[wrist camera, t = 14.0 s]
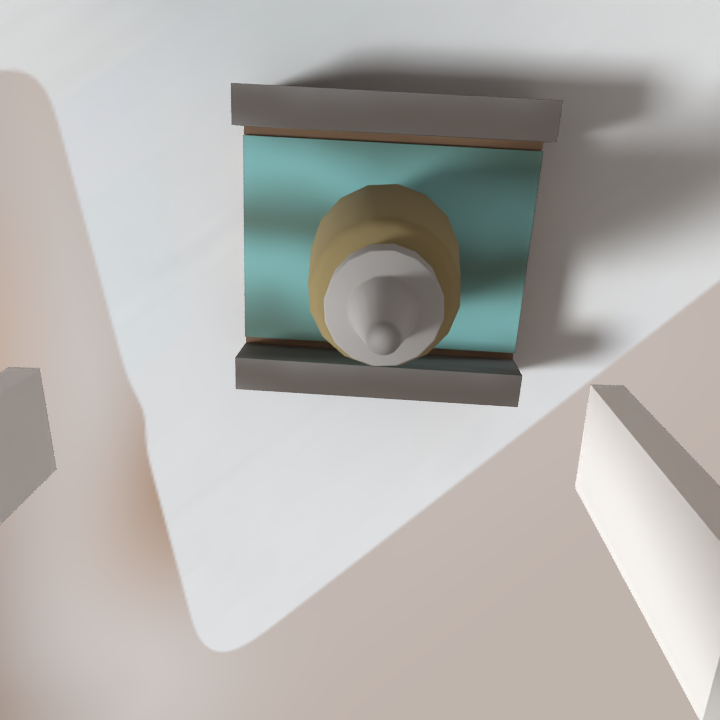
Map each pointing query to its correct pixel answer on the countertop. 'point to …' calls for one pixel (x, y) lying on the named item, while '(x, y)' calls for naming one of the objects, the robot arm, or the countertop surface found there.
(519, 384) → the dock
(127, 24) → the countertop surface
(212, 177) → the countertop surface
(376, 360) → the squeeze bottle
